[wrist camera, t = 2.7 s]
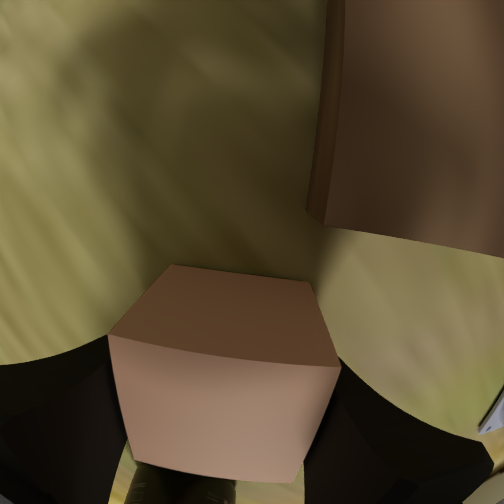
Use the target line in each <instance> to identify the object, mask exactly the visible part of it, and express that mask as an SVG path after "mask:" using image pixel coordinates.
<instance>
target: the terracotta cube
mask: <svg viewBox="0 0 504 504" xmlns="http://www.w3.org/2000/svg"><path fill="white" fill-rule="evenodd" d="M108 341H109V348H110V355H111V361H112V367H113V373H114V378H115V384H116V389H117V394H118V398H119V403H120V407H121V412H122V416H123V420H124V424H125V428H126V432H127V436H128V439H129V443H130V447H131V450H132V453H133V457H134V460H137V461H141V462H145V463H148V464H152V465H156V466H160V467H164V468H168V469H173V470H177V471H182V472H187V473H192V474H198V475H204V476H210V477H217V478H225V479H233V480H243V481H255V482H272V483H293V481H294V479H295V477H296V475H297V473H298V471H299V469H300V467H301V465H302V463H303V461H304V459H305V456H306V454H307V452H308V450H309V448H310V446H311V443H312V441H313V439H314V437H315V434H316V432H317V430H318V427H319V425H320V423H321V420H322V418H323V415H324V413H325V411H326V408H327V406H328V403H329V400H330V398H331V395H332V393H333V390H334V387H335V385H336V382H337V379H338V376H339V373H340V371H341V368H342V367H341V364H340V361H339V358H338V356H337V353H336V350H335V348H334V345H333V342H332V339H331V337H330V334H329V331H328V329H327V326H326V324H325V321H324V318H323V316H322V313H321V311H320V308H319V305H318V303H317V300H316V298H315V295H314V293H313V290H312V288H311V285H310V282H305V281H296V280H288V279H280V278H271V277H263V276H255V275H248V274H240V273H232V272H225V271H217V270H210V269H202V268H195V267H188V266H181V265H174V264H171V265H170V266H169V267H168V268H167V269H166V270H165V271H164V272H163V273H162V274H161V275H160V277H159V278H158V279H157V280H156V281H155V282H154V283H153V284H152V285H151V286H150V287H149V288H148V289H147V291H146V292H145V293H144V294H143V295H142V296H141V297H140V298H139V299H138V300H137V301H136V303H135V304H134V305H133V306H132V307H131V308H130V309H129V310H128V311H127V313H126V314H125V315H124V316H123V317H122V318H121V319H120V320H119V322H118V323H117V324H116V325H115V326H114V327H113V328H112V330H111V331H110V332H109V333H108Z"/></svg>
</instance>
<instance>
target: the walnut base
mask: <svg viewBox="0 0 504 504" xmlns="http://www.w3.org/2000/svg"><path fill="white" fill-rule="evenodd" d="M306 210H307V211H308V212H309V213H310V214H311V215H312V216H313V217H315V218H316V219H317V220H318V221H319V222H320V223H321V224H322V225H323V226H329V227H336V228H342V229H349V230H355V231H361V232H368V233H374V234H380V235H386V236H392V237H397V238H403V239H409V240H414V241H420V242H425V243H431V244H436V245H442V246H447V247H452V248H457V249H462V250H467V251H472V252H477V253H482V254H487V255H491V256H496V257H501V258H504V0H328V3H327V21H326V37H325V50H324V63H323V74H322V85H321V95H320V105H319V114H318V123H317V132H316V140H315V148H314V156H313V164H312V171H311V179H310V186H309V193H308V200H307V206H306Z"/></svg>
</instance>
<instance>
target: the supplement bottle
mask: <svg viewBox="0 0 504 504" xmlns="http://www.w3.org/2000/svg"><path fill="white" fill-rule="evenodd" d="M235 501H236V491H235V487H234V485H233V484H232V482H231V481H230V480H229V479H225V478H217V477H210V476H204V475H198V474H192V473H187V472H182V471H177V470H173V469H168V468H164V467H160V466H156V465H152V464H148V463H145V462H144V463H142V464H141V465H139V466H138V468H137V469H136V472H135V474H134V477H133V479H132V482H131V485H130V488H129V490H128V493H127V496H126V499H125V502H124V504H235Z"/></svg>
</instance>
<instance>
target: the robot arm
mask: <svg viewBox="0 0 504 504" xmlns="http://www.w3.org/2000/svg"><path fill="white" fill-rule="evenodd" d="M338 358H339V357H338ZM339 361H340V364H341V367H342V368H341V371H340V373H339V376H338V379H337V382H336V385H335V387H334V390H333V393H332V395H331V398H330V400H329V403H328V406H327V408H326V411H325V413H324V415H323V418H322V420H321V423H320V425H319V427H318V430H317V432H316V434H315V437H314V439H313V441H312V443H311V446H310V448H309V450H308V452H307V454H306V456H305V459H304V461H303V463H304V486H305V504H463V503H462V502H463V501H464V500H465V499H466V498H467V497H469V496H470V495H471V494H472V493H473V492H474V491H475V490H476V489H477V488H478V487H479V486H480V485H481V484H482V483H483V482H484V481H485V480H486V479H487V478H488V477H489V475H490V474H491V472H492V470H493V467H494V462H493V461H492V459H491V457H490V455H489V454H488V452H487V450H486V448H485V447H484V445H483V443H482V442H479V441H475V440H471V439H468V438H464V437H461V436H457V435H454V434H451V433H448V432H446V431H443V430H441V429H438V428H436V427H433V426H431V425H429V424H427V423H425V422H423V421H421V420H419V419H417V418H415V417H413V416H412V415H410V414H408V413H406V412H404V411H403V410H401V409H400V408H398V407H396V406H395V405H394V404H392V403H391V402H389V401H388V400H386V399H385V398H384V397H382V396H381V395H380V394H378V393H377V392H376V391H374V390H373V389H372V388H371V387H370V386H369V385H367V384H366V383H365V382H364V381H363V380H362V379H361V378H360V377H358V376H357V375H356V374H355V373H354V372H353V371H352V370H351V369H350V368H349V367H348V366H347V365H346V364H345V363H344V362H343V361H342V360H341V359H340V358H339ZM501 427H504V391H503V392H502V394H501V396H500V397H499V399H498V400H497V402H496V404H495V405H494V407H493V408H492V410H491V411H490V413H489V414H488V416H487V417H486V419H485V420H484V422H483V423H482V424H481V426H480V427H479V429H478V433H479V434H480V435H481V434H484V433H487V432H490V431H493V430H495V429H498V428H501ZM127 439H128V436H127V432H126V428H125V424H124V420H123V416H122V412H121V407H120V403H119V398H118V394H117V389H116V384H115V378H114V373H113V367H112V361H111V355H110V348H109V341H108V334H107V335H105V336H103V337H100V338H98V339H96V340H94V341H92V342H89V343H87V344H85V345H83V346H80V347H78V348H75V349H73V350H70V351H67V352H64V353H61V354H58V355H55V356H51V357H47V358H43V359H39V360H34V361H29V362H24V363H17V364H9V365H0V504H108V502H109V497H110V493H111V489H112V485H113V481H114V478H115V475H116V471H117V468H118V465H119V461H120V458H121V455H122V452H123V449H124V447H125V444H126V441H127ZM497 504H504V499H502V500H501V501H499V502H498V503H497Z"/></svg>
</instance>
